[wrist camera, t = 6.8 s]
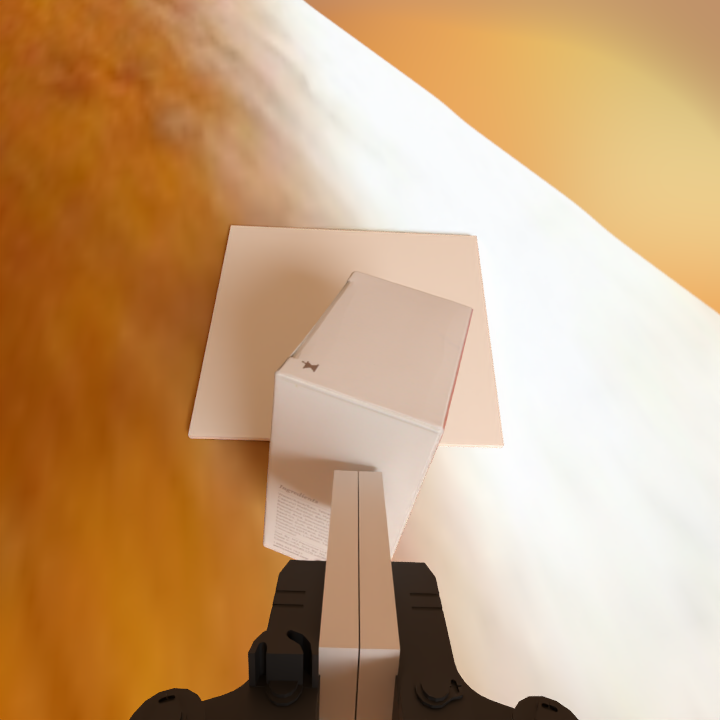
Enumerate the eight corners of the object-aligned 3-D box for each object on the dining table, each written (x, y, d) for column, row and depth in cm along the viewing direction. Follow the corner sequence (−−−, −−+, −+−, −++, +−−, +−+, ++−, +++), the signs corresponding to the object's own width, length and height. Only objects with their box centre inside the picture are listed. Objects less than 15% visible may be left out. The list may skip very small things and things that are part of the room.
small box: (377, 598, 20) (446, 436, 13) (258, 548, 21) (269, 372, 14) (417, 461, 26) (478, 304, 20) (324, 427, 27) (353, 265, 20)
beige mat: (232, 230, 34) (231, 225, 34) (474, 240, 35) (476, 235, 34) (190, 438, 27) (188, 435, 26) (501, 448, 27) (503, 445, 27)
